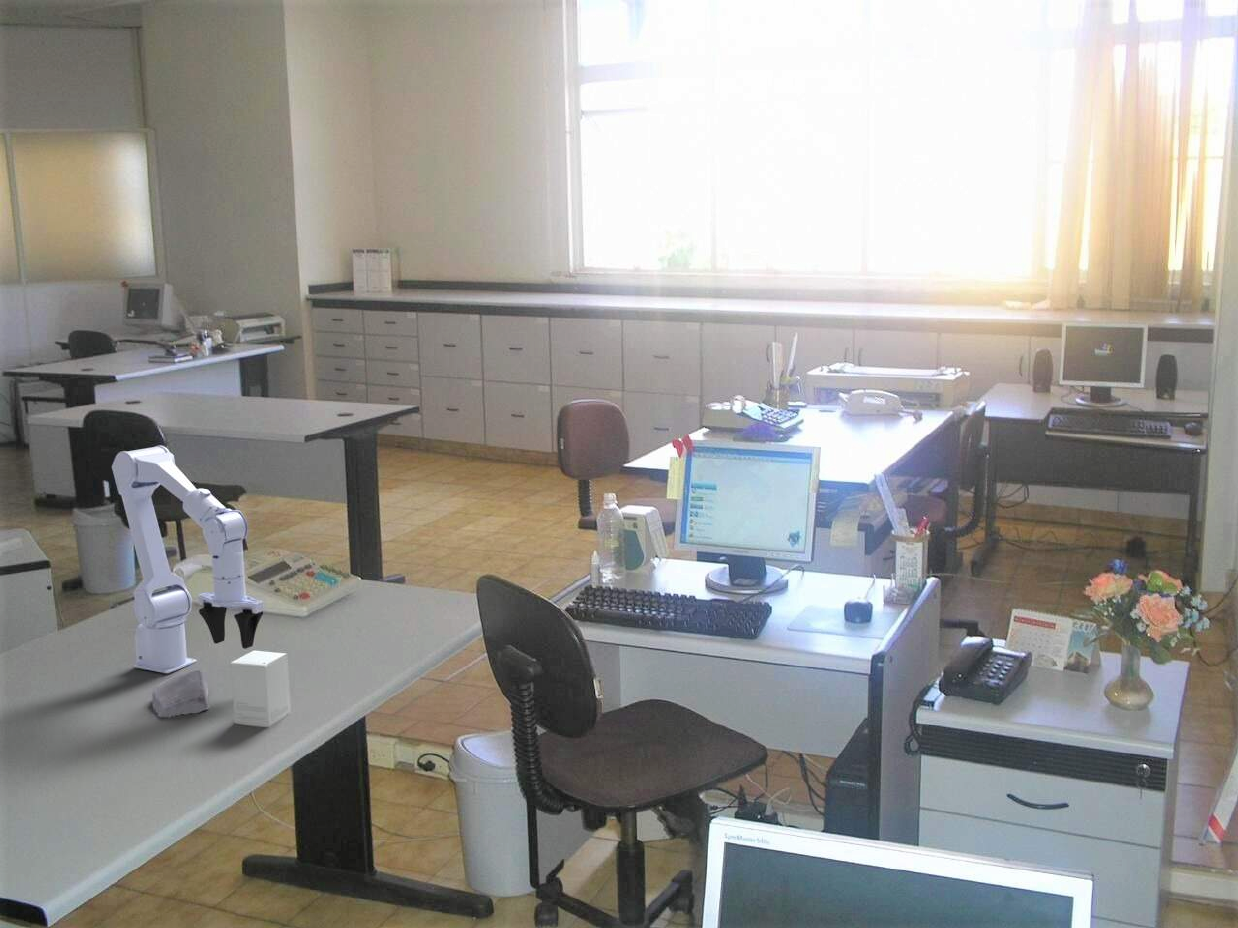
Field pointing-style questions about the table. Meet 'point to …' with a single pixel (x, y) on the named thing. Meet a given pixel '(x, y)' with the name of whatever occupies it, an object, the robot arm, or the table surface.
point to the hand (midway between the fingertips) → (233, 644)
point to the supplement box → (260, 688)
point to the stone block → (181, 695)
